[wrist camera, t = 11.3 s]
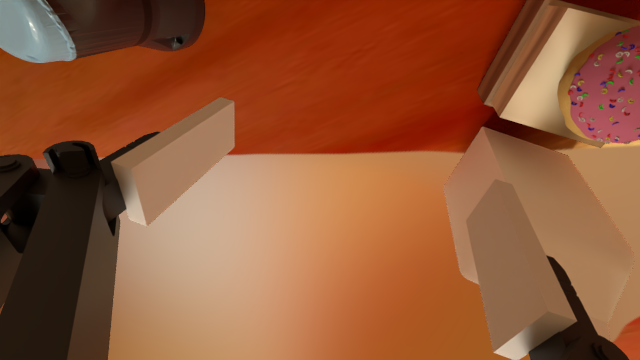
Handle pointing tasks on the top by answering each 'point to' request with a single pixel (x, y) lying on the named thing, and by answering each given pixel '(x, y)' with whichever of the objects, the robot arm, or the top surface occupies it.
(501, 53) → the block bottom
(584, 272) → the milk
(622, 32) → the cupcake
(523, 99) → the block top
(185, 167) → the robot arm
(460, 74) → the top surface
